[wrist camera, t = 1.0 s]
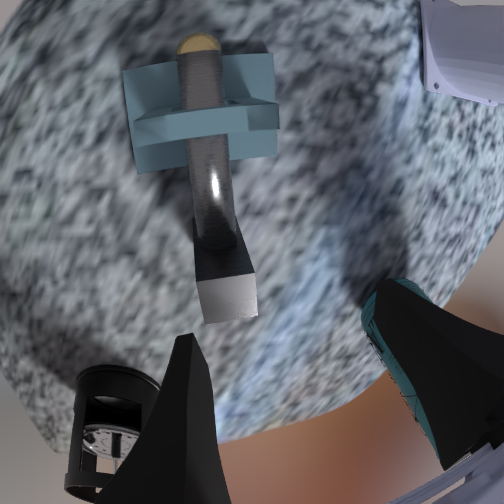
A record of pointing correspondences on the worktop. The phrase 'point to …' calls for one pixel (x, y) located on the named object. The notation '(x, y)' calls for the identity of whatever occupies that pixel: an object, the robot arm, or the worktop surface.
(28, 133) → the worktop surface
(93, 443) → the french press
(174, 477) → the robot arm
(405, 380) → the beverage bottle
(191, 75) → the hook rod
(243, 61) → the eye bracket
